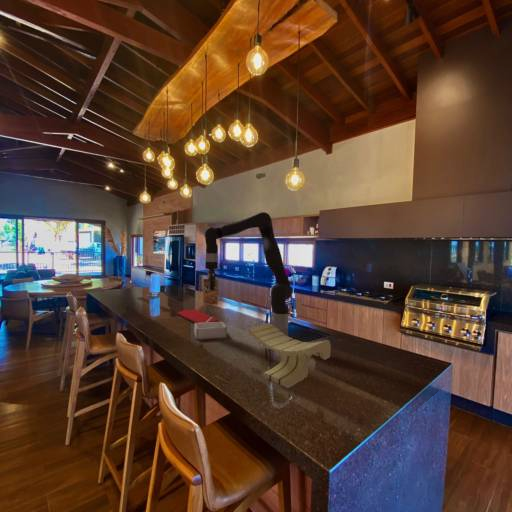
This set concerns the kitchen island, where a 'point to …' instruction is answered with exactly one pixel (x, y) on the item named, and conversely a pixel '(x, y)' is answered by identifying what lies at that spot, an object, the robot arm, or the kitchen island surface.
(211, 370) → the kitchen island surface
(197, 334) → the box
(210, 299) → the candy box
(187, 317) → the red flat case
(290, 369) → the slatted curved stool
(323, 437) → the kitchen island surface
